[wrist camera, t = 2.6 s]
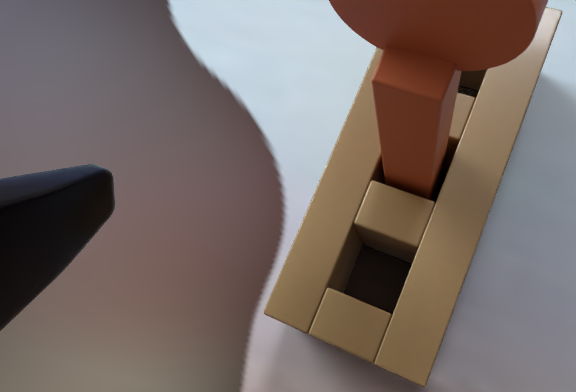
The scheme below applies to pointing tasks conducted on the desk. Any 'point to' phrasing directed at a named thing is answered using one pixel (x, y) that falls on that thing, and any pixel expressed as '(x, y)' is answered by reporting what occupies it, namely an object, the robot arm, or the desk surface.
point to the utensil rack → (405, 221)
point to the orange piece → (431, 71)
